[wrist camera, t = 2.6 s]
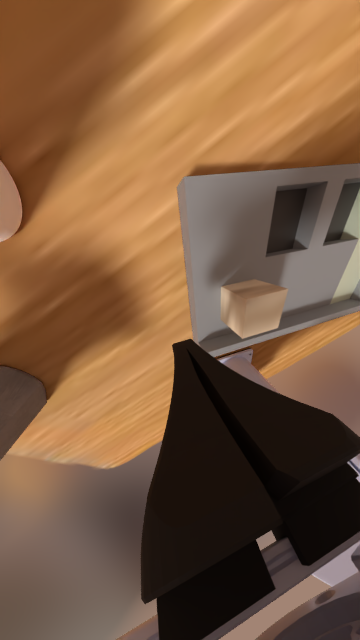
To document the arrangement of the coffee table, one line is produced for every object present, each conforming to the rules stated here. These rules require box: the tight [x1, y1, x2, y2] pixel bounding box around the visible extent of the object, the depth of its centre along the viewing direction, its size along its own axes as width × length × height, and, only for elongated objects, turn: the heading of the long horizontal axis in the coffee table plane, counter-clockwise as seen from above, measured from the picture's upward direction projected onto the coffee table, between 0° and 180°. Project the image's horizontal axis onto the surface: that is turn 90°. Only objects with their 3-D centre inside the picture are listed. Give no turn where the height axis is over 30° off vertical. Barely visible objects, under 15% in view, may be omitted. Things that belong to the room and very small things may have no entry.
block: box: [221, 279, 288, 339], centre depth 14 cm, size 4×4×4 cm
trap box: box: [177, 163, 360, 357], centre depth 16 cm, size 16×26×4 cm, turn 97°
